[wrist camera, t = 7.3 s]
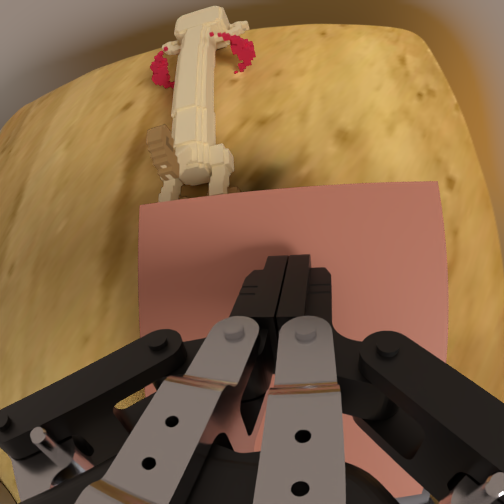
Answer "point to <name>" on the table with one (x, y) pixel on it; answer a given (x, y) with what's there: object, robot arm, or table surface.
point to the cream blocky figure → (195, 104)
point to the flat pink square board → (322, 255)
